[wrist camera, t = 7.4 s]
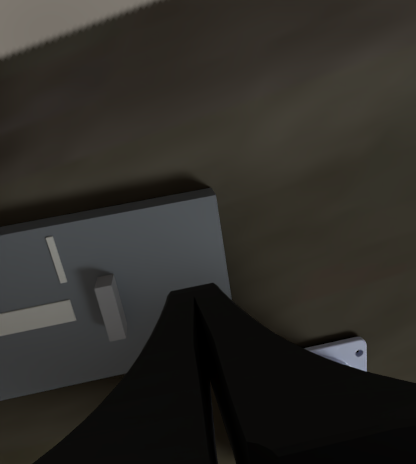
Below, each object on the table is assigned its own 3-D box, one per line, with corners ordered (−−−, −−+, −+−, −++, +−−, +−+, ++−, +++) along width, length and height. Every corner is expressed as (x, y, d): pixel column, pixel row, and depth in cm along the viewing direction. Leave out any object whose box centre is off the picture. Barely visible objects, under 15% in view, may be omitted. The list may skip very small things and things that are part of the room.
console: (233, 333, 23) (243, 362, 21) (-154, 416, 22) (-194, 459, 19) (211, 187, 20) (220, 201, 18) (-247, 272, 18) (-309, 301, 16)
